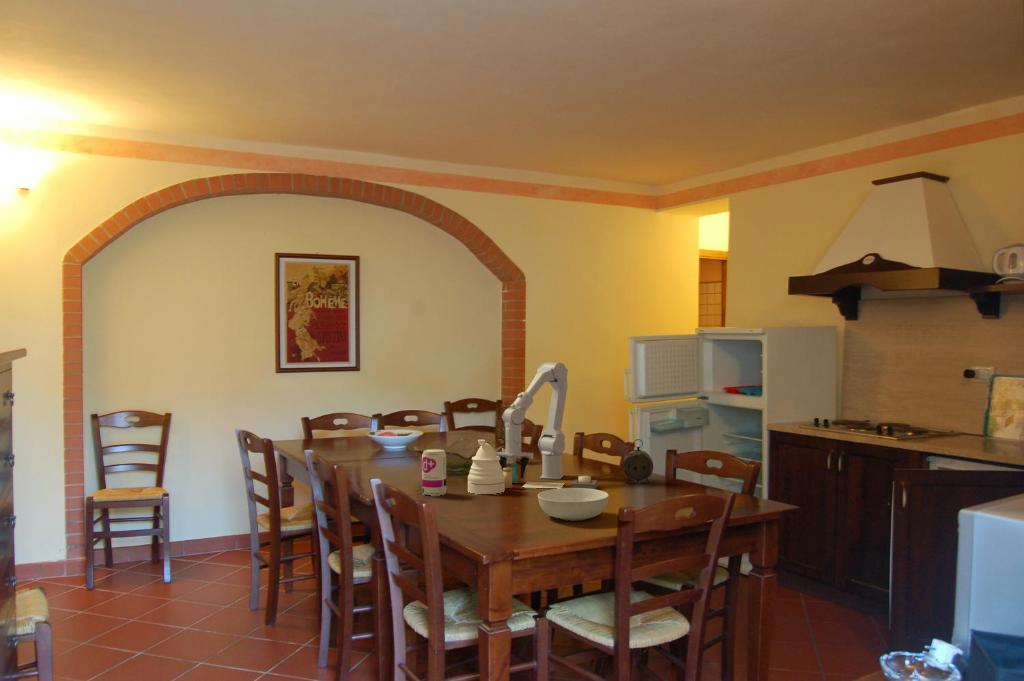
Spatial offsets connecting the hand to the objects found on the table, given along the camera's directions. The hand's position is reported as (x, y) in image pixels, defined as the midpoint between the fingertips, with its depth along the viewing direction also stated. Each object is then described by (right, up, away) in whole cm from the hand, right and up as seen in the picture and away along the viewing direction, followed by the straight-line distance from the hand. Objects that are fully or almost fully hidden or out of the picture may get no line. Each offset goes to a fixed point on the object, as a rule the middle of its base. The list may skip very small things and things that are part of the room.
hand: (513, 477), depth 276 cm
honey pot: (-10, -2, -15) cm, 18 cm away
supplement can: (-27, -2, -21) cm, 34 cm away
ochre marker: (-2, -2, -10) cm, 10 cm away
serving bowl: (+17, -2, -55) cm, 58 cm away
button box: (+25, -2, -12) cm, 28 cm away
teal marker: (0, -2, 0) cm, 2 cm away
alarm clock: (+46, -2, -2) cm, 46 cm away
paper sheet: (+11, -2, -6) cm, 13 cm away
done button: (+25, -1, -12) cm, 28 cm away
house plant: (-3, -2, +48) cm, 48 cm away
